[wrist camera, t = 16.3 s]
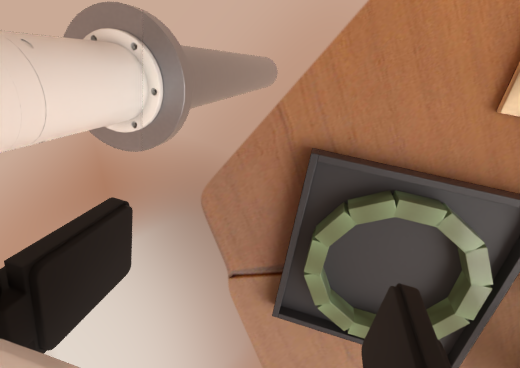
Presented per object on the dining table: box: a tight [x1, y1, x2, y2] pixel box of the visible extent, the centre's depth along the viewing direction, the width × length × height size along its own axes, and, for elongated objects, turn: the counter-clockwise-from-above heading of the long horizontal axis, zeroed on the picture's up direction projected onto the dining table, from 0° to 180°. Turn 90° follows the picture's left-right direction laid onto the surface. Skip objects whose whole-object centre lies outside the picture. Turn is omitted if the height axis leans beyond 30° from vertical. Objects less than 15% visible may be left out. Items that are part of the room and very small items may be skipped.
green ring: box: [304, 190, 493, 340], centre depth 35 cm, size 19×19×3 cm
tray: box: [272, 148, 520, 368], centre depth 35 cm, size 24×24×2 cm
